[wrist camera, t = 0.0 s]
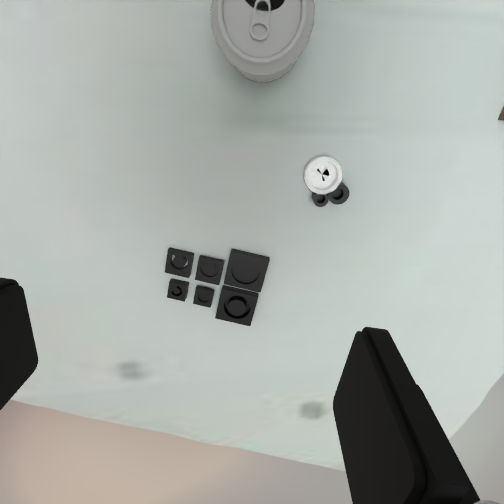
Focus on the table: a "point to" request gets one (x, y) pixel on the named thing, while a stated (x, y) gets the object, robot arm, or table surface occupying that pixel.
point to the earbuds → (248, 255)
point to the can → (262, 34)
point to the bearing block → (502, 115)
